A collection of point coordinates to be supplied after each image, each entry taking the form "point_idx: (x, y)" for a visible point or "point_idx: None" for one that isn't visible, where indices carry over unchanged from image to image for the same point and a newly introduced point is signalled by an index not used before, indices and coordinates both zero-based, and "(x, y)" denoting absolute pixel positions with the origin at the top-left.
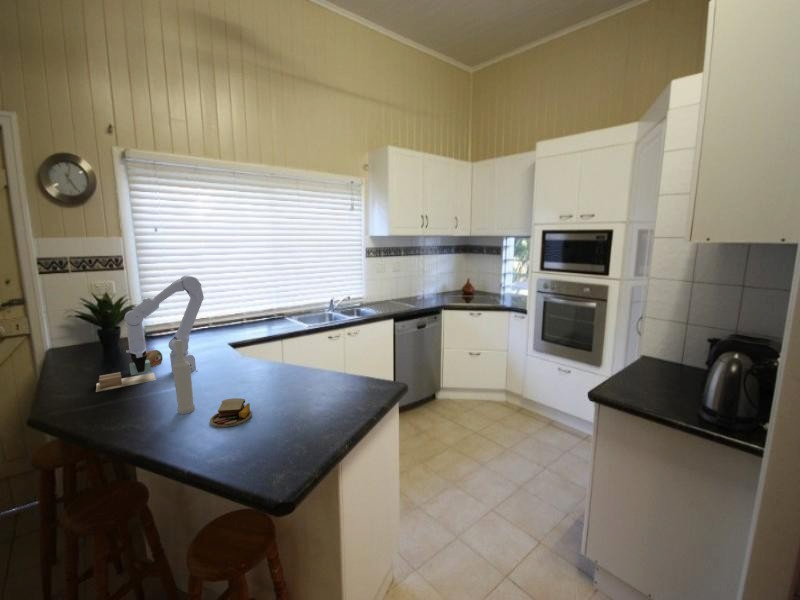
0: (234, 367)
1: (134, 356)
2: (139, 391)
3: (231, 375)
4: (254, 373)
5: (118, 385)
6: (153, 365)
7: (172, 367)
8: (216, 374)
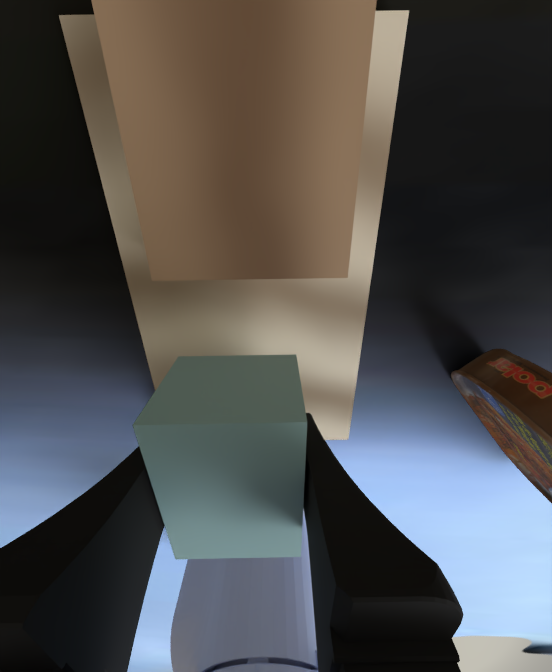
0: None
1: (16, 656)
2: (24, 352)
3: None
4: None
5: None
6: (515, 449)
7: None
8: (149, 586)
